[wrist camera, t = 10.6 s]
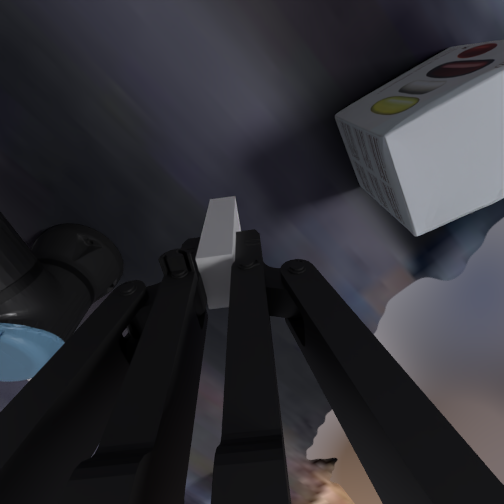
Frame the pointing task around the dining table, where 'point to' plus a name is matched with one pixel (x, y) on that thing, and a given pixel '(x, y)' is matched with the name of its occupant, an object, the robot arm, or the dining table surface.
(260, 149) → the dining table surface
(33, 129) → the dining table surface
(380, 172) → the supplement box
